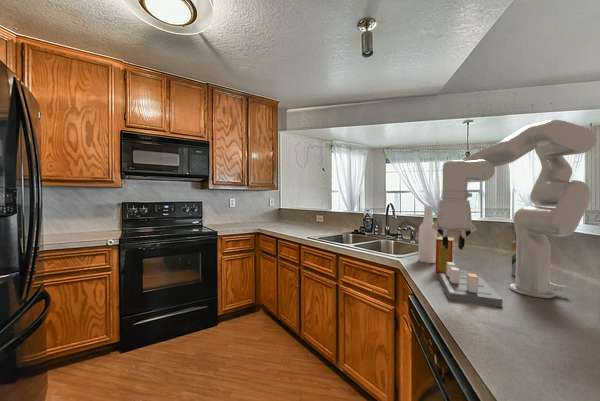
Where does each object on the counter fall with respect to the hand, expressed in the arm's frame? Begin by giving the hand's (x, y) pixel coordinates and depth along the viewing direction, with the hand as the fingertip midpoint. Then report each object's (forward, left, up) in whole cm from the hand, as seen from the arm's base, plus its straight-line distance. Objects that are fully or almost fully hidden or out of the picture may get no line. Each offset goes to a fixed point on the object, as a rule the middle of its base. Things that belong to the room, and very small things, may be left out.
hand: (453, 247), depth 92 cm
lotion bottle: (-32, -38, -17) cm, 53 cm away
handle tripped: (-6, 0, -14) cm, 15 cm away
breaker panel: (-6, -8, -17) cm, 20 cm away
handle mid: (-2, -8, -14) cm, 16 cm away
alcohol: (+4, -50, -17) cm, 53 cm away
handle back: (-2, -16, -14) cm, 22 cm away
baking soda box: (-2, -33, -17) cm, 37 cm away
